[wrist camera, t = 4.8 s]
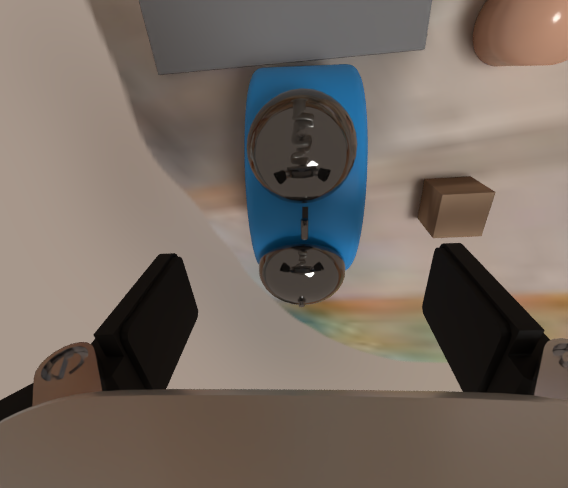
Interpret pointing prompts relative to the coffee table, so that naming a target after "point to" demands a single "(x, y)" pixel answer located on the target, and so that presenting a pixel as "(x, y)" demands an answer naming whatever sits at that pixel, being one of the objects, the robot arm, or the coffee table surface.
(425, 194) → the walnut block
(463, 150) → the coffee table surface
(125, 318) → the robot arm
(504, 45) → the tan egg shape
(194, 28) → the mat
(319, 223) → the alarm clock
